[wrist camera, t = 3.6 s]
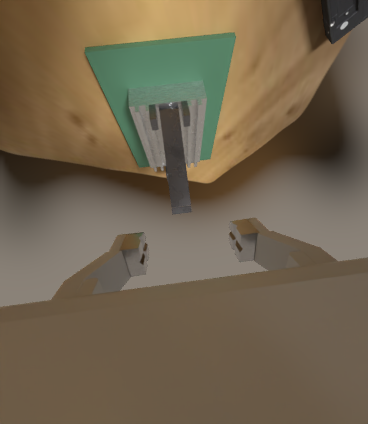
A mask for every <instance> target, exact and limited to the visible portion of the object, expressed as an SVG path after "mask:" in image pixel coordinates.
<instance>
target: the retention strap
mask: <svg viewBox="0 0 368 424" xmlns="http://www.w3.org/2000/svg"><path fill="white" fill-rule="evenodd" d="M159 112H160V120H161V128H162V136H163V144H164V151H165V159H166V167H167V175H168V183H169V190H170V199H171V206H172V207H176V208H172V213H173V214H180V213H188V212H191V206H188V205H191V204H190V196H189V187H188V179H187V171H186V163H185V155H184V147H183V139H182V131H181V123H180V115H179V107H171V108H162V109H159ZM180 206H184V207H180Z"/></svg>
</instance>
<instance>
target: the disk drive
mask: <svg viewBox="0 0 368 424" xmlns="http://www.w3.org/2000/svg"><path fill="white" fill-rule="evenodd" d="M321 4H322V11H323V23H324V28H325V32H326V36H327V38H328V39H329V41H330V42H331V44H334V43H335V42H336V41H338V40H339V39H340V38H342V37H343V36H344V35H346V34H347V33H348V32H349V31H351V30H352V29H353V28H355V27H356V26H357V25H358V24H360V23H361V22H362V21H364V20H365V19H366V18H368V0H321Z"/></svg>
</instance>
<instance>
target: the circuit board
mask: <svg viewBox="0 0 368 424" xmlns="http://www.w3.org/2000/svg"><path fill="white" fill-rule="evenodd" d="M235 39H236V36H235V33H224V34H214V35H204V36H194V37H184V38H175V39H165V40H155V41H145V42H135V43H125V44H116V45H106V46H96V47H86V48H85V54H86V56H87V58H88V61H89V63H90V65H91V67H92V69H93V71H94V73H95V75H96V77H97V79H98V82H99V84H100V86H101V88H102V90H103V92H104V94H105V96H106V98H107V100H108V103H109V105H110V107H111V109H112V111H113V113H114V115H115V117H116V119H117V122H118V124H119V126H120V128H121V130H122V132H123V134H124V136H125V138H126V140H127V143H128V145H129V147H130V149H131V151H132V153H133V155H134V157H135V159H136V161H137V164H138V166H139V168H140V167H149V166H150V164H149V161H148V159H147V156H146V153H145V150H144V148H143V145H142V142H141V139H140V137H139V134H138V131H137V128H136V126H135V123H134V120H133V117H132V114H131V112H130V109H129V96H128V89H129V88H139V87H148V86H157V85H166V84H176V83H185V82H194V81H203V84H204V88H205V92H206V96H207V103H206V111H205V120H204V129H203V137H202V146H201V154H200V160H207V159H210V157H211V153H212V148H213V143H214V138H215V134H216V129H217V124H218V119H219V115H220V110H221V105H222V100H223V96H224V91H225V86H226V81H227V77H228V72H229V67H230V62H231V58H232V53H233V48H234V44H235Z"/></svg>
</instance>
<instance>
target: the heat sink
mask: <svg viewBox="0 0 368 424" xmlns="http://www.w3.org/2000/svg"><path fill="white" fill-rule="evenodd" d="M128 96H129V109H130V112H131V114H132V117H133V120H134V123H135V126H136V128H137V131H138V134H139V137H140V139H141V142H142V145H143V148H144V150H145V153H146V156H147V159H148V161H149V164H150V167H151V168H154V171H157V167H161V171H164V166H166V159H165V151H164V144H163V136H162V128H161V120H160V112H159V109H162V108H171V107H179V115H180V123H181V131H182V139H183V147H184V155H185V163H186V164H187V166H188V168H189V167H190V163H194V167H197V162H200V154H201V146H202V137H203V129H204V120H205V111H206V103H207V96H206V92H205V88H204V84H203V81H194V82H185V83H176V84H166V85H157V86H148V87H139V88H129V89H128ZM166 175H167V167H166ZM167 180H168V175H167Z"/></svg>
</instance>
